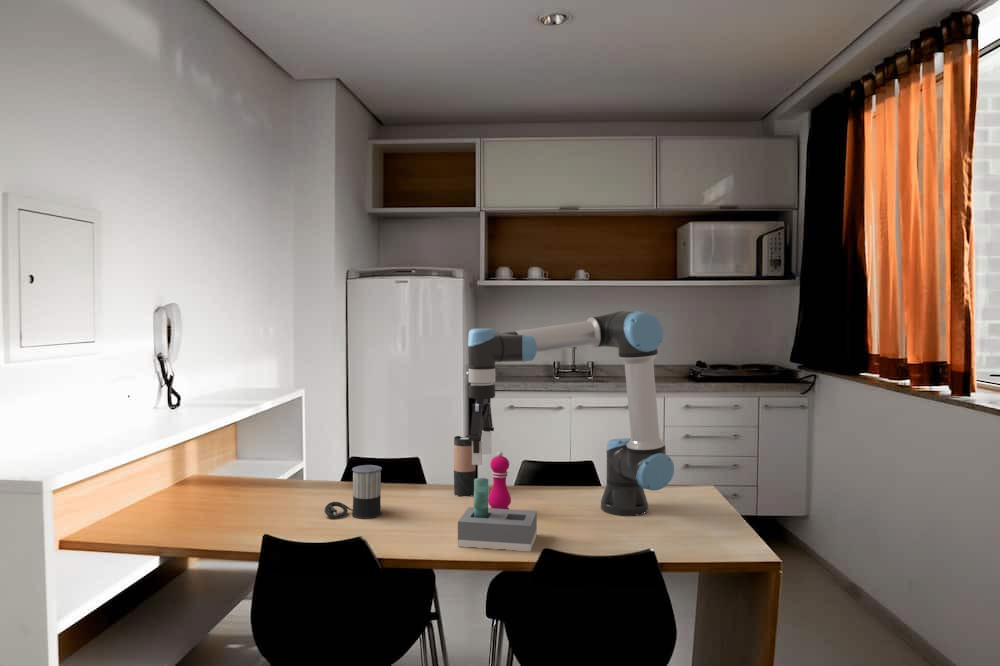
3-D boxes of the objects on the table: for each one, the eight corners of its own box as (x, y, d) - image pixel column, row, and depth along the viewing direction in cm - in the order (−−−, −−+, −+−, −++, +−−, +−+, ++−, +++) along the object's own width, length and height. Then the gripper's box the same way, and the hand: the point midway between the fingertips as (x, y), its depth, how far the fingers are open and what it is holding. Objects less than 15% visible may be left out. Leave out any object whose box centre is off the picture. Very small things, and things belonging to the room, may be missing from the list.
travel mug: (467, 498, 239) (467, 440, 239) (449, 494, 243) (449, 437, 243) (479, 493, 246) (480, 436, 245) (461, 490, 250) (462, 434, 249)
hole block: (536, 535, 201) (536, 510, 201) (530, 551, 187) (530, 525, 187) (468, 530, 205) (468, 507, 204) (457, 546, 191) (457, 521, 191)
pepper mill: (508, 518, 217) (508, 454, 216) (485, 516, 218) (486, 453, 218) (512, 511, 224) (513, 449, 223) (490, 510, 226) (491, 448, 225)
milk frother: (387, 514, 220) (387, 468, 219) (344, 526, 209) (344, 476, 208) (361, 505, 230) (361, 461, 229) (319, 515, 218) (319, 468, 218)
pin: (489, 530, 198) (489, 478, 198) (486, 535, 195) (486, 481, 194) (475, 529, 199) (475, 477, 199) (472, 534, 195) (472, 481, 195)
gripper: (477, 378, 208) (477, 449, 209) (458, 388, 184) (458, 468, 184) (502, 379, 207) (502, 450, 208) (486, 389, 182) (486, 469, 183)
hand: (481, 459), depth 196 cm, fingers open, 13 cm apart
